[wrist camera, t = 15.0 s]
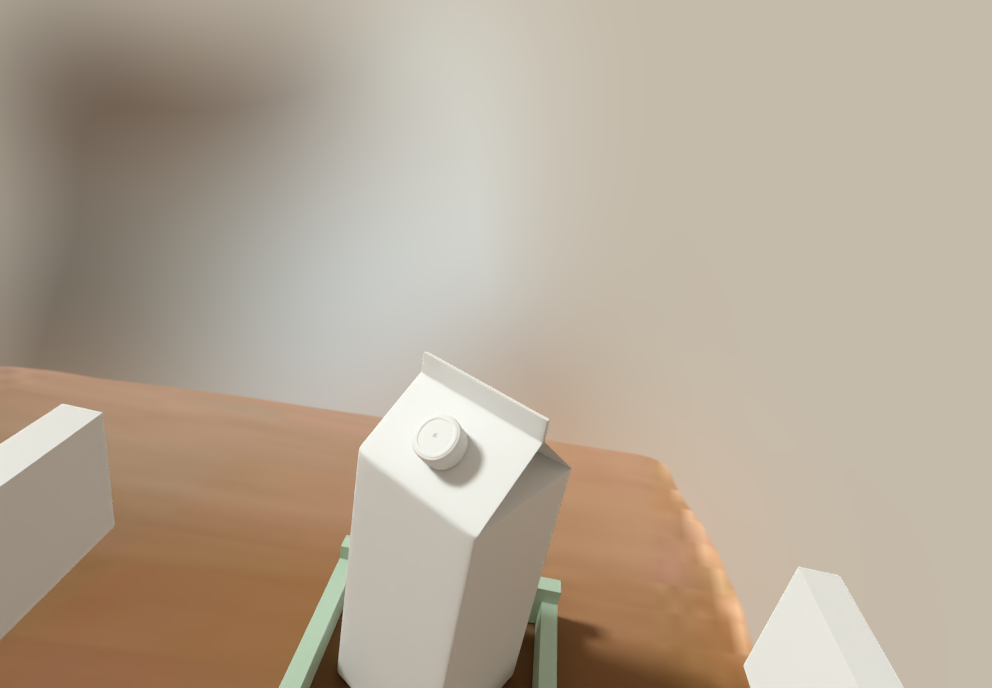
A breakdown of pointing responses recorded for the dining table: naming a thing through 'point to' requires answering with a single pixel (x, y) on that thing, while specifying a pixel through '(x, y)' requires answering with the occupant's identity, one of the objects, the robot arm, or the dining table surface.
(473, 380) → the milk carton
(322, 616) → the trap lane
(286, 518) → the dining table surface
